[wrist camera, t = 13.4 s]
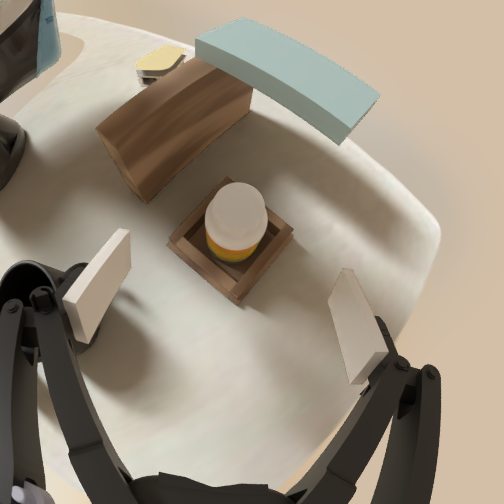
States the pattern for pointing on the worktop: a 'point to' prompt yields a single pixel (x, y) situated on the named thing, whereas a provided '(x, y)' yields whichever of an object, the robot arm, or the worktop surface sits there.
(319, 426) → the worktop surface
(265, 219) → the supplement bottle
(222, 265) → the brown wooden square tray
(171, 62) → the pale yellow layered block
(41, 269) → the mug
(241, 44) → the plank
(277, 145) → the worktop surface
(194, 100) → the wall
